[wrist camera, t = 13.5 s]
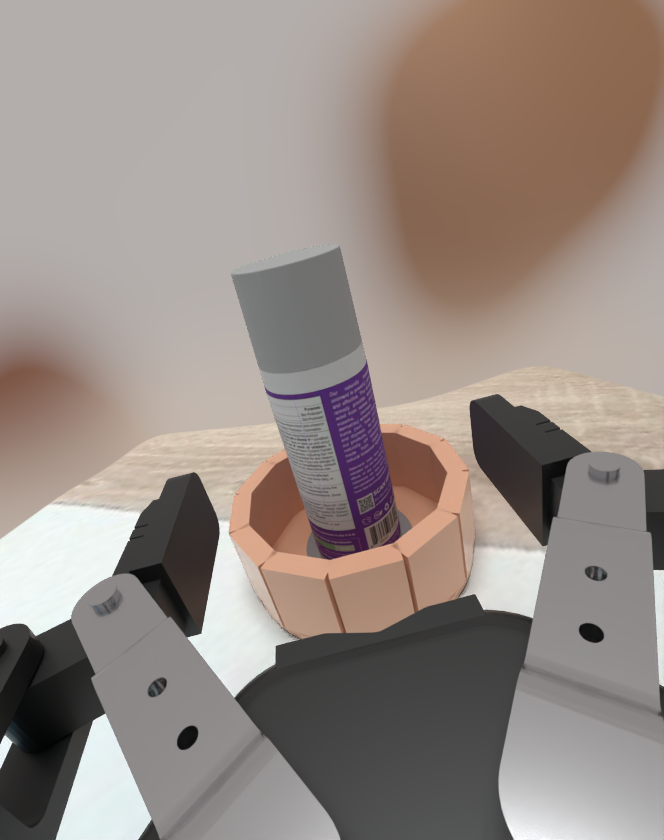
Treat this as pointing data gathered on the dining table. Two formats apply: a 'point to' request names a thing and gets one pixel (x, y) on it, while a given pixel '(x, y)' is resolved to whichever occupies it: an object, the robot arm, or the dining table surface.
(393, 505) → the container
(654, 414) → the dining table surface
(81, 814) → the dining table surface
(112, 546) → the dining table surface
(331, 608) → the faceted terracotta pot
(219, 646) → the dining table surface
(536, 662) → the robot arm
